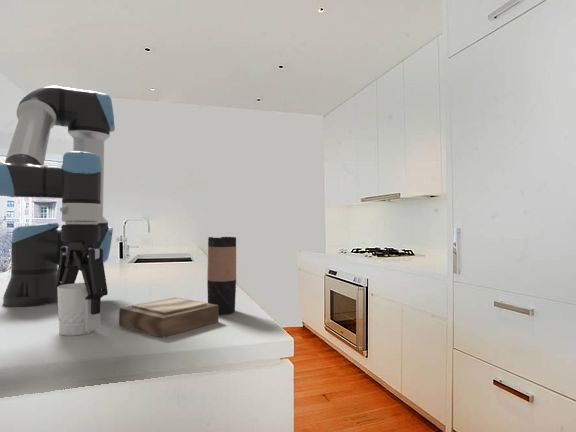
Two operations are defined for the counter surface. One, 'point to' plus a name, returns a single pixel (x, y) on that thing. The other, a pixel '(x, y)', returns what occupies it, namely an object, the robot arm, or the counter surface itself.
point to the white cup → (72, 309)
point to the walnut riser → (168, 316)
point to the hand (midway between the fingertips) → (79, 325)
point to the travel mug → (222, 273)
